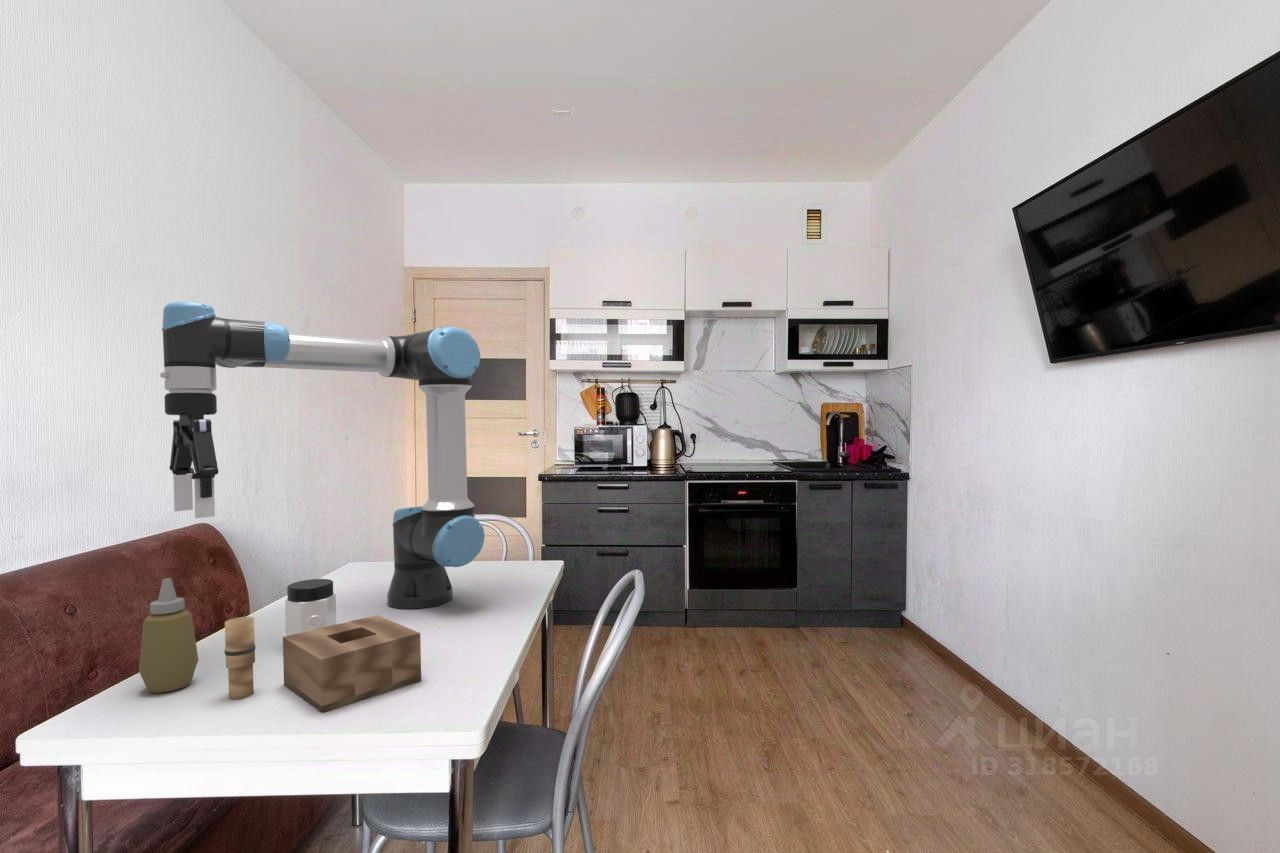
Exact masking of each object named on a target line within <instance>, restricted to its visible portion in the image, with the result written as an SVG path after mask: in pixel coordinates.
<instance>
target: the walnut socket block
mask: <svg viewBox="0 0 1280 853" xmlns="http://www.w3.org/2000/svg"><path fill="white" fill-rule="evenodd" d="M421 645H422V644H421V632H419V631H416V630H414V629H412V628H409V627H407V626H405V625H402V624H399V623H397V622H395V621H393V620H390V619H387V618H385V617H383V616H380V615H378V614H375V615H372V616H368V617H367V616H366V617H363V618H359V619H354V620H349V621H346V622H341V623H336V625H332V626H328V627H323V628H319V629H315V630H311V631H306V632H302V633H298V634H293V635H289V636H286V635H285V636H282V651H283V652H282V655H283V660H282V662H283V686H284V687H286V688H287V689H288V690H290V691H291V690H292V691H291V692H293V693H294V692H295V693H294V694H296V695H297V696H298V695H299V697H300V698H301V699H302V698H303V700H304V701H305V702H306V701H307V703H308V704H309V703H310V706H312V707H313V706H314V707H313V708H315V709H316V710H317V709H318V710H317V711H319V712H320V713H321V712H323V713H327V712H329V711H332V710H335V709H338V708H341V707H344V706H347V705H350V704H353V703H356V702H360V701H363V700H367V699H369V698H372V697H376V696H379V695H382V694H386V693H388V692H390V691H394V690H398V689H400V688H403V687H407V686H411V685H412V684H416V683H418V682H422V656H421V654H422V652H421V650H422V648H421Z"/></svg>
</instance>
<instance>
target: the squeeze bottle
mask: <svg viewBox="0 0 1280 853" xmlns="http://www.w3.org/2000/svg"><path fill="white" fill-rule="evenodd" d="M160 585H161V586H160V590H159V594H158V599H157V600H154V601H152V602H150V604H149V609H150V610H149V611H150V615H148V616H147V617H145V619H144V620H143V621H142V623H143V624H142V633H141V641H140V642H141V644H140V652H139V653H140V654H139V664H138V672H139V675H140V676H141V678H142V681H143V683H144V685H145V687H146V689H147V692H149V693H153V694H158V693H159V694H161V693H169V692H172V691H177V690H179V689H180V690H181V689H182V688H185V687H187V686H189V685H190V684H191V683H192V680H193V677H194V674H195V671H196V668H197V665H198V662H199V652H198V646H197V642H196V634H195V627H194V621H193V620H194V619H193V613H192V612H190V611H189V610H188V609H185V608H186V602H185V601H186V600H185V598H184V597H179V596H178V597H177V593H176V590H175V587H174V583H173V581H172V578H170V577H168V578H163V579H162V581H161V584H160Z"/></svg>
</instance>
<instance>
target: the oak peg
mask: <svg viewBox="0 0 1280 853" xmlns="http://www.w3.org/2000/svg"><path fill="white" fill-rule="evenodd" d="M224 642H225V644H224V645H225V649H224V655H225V668H226V669H228V670H227V671H228V674H227V675H228V698H229V699H231V700H241V698H242V699H245V697H246V698H248V697H251V696H252V695H254V692H255V690H254V687H255V686H254V663H256V644H255V642H256V641H255V617H253V616H239V617H234V618H230V619H228V620H225V621H224ZM250 695H251V696H250Z"/></svg>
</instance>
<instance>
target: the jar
mask: <svg viewBox="0 0 1280 853" xmlns="http://www.w3.org/2000/svg"><path fill="white" fill-rule="evenodd" d="M286 588H287V590H286V591H287V592H286V594H287V595H286V596H287V597H286V598H287V599H286V600H285V601H284V612H285V614H284V615H285V616H284V618H285V620H284V621H285V636H289V635H293V634H298V633H302V632H306V631H311V630H315V629H319V628H323V627H328V626H332V625H336V624H337V602H336V601H337V600H336V599H337V598H336V597H337V596H336V593H335V592H334V581H333V580H332V579H328V578H315V579H314V578H313V579H304V580H299V581H295V582H291V583H290V584H288V585H287V587H286Z"/></svg>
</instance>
